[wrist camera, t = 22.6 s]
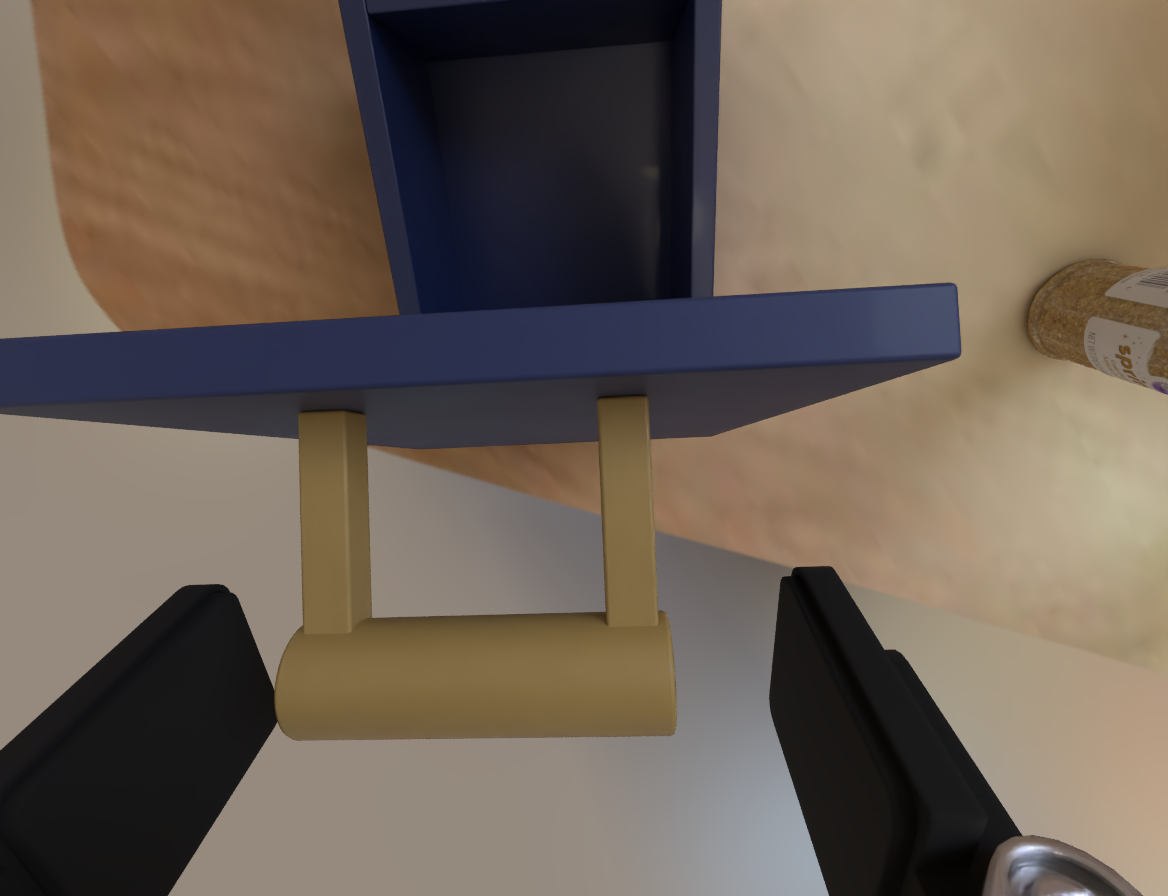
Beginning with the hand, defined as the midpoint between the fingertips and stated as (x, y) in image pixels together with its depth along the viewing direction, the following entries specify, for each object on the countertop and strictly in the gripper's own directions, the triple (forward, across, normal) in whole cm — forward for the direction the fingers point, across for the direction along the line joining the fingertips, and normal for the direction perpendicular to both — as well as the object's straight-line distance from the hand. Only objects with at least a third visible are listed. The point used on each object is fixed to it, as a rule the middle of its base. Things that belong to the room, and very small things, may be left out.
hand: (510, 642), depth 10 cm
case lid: (+5, 0, -3) cm, 6 cm away
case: (+19, 0, -6) cm, 20 cm away
